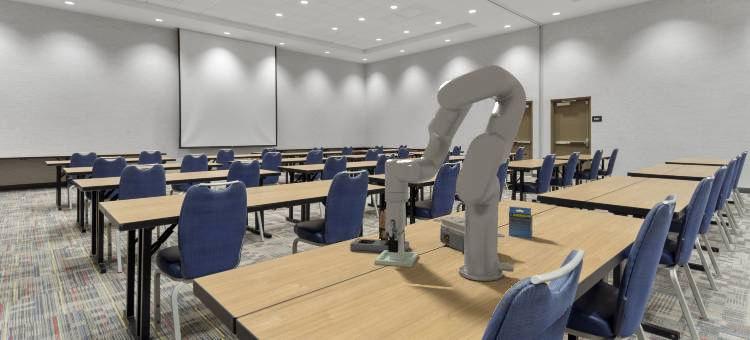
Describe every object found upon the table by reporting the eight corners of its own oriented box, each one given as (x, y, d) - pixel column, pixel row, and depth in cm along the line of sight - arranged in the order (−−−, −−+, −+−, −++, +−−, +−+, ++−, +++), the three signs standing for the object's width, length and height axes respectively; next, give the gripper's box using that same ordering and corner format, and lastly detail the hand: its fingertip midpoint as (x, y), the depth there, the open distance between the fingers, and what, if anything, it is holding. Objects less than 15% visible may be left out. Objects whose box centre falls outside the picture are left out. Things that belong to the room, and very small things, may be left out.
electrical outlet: (450, 236, 165) (451, 212, 164) (507, 258, 141) (509, 230, 140) (428, 240, 159) (429, 216, 157) (483, 264, 135) (485, 235, 134)
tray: (418, 257, 139) (418, 252, 138) (411, 268, 127) (411, 262, 127) (384, 255, 142) (384, 250, 142) (374, 265, 131) (374, 260, 130)
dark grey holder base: (413, 245, 155) (412, 221, 155) (404, 255, 141) (404, 230, 140) (363, 241, 161) (363, 219, 160) (350, 251, 147) (349, 227, 146)
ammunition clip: (400, 243, 158) (400, 213, 157) (397, 244, 156) (396, 213, 156) (382, 238, 166) (382, 209, 165) (378, 239, 165) (378, 210, 164)
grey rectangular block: (404, 258, 136) (404, 230, 135) (401, 262, 132) (401, 232, 131) (392, 257, 137) (392, 229, 136) (389, 261, 133) (389, 232, 132)
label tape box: (532, 236, 167) (533, 206, 166) (530, 238, 164) (531, 208, 163) (510, 233, 172) (511, 205, 171) (508, 235, 168) (508, 206, 167)
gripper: (391, 193, 142) (392, 241, 144) (378, 200, 126) (378, 254, 127) (413, 193, 140) (413, 242, 141) (401, 201, 124) (402, 256, 125)
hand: (396, 248), depth 134 cm, fingers open, 9 cm apart
